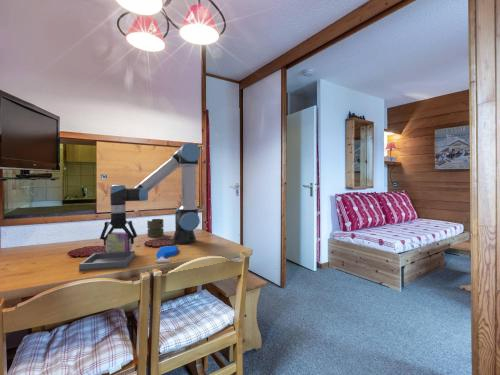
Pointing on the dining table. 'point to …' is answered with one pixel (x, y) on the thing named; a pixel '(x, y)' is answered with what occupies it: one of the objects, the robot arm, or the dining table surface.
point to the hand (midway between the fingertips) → (119, 250)
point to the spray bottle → (166, 253)
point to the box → (118, 242)
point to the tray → (107, 260)
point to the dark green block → (155, 228)
